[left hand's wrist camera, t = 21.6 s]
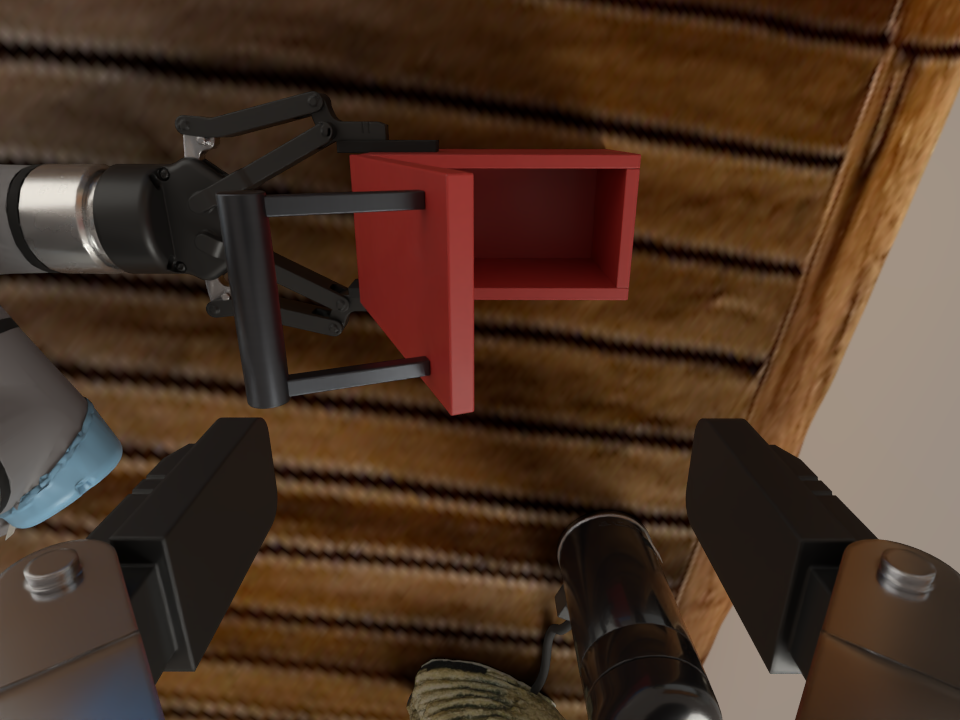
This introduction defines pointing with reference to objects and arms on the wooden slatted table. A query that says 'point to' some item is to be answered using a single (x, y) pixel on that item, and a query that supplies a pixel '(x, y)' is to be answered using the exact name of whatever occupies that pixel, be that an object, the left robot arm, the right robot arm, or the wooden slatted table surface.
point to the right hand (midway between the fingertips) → (439, 220)
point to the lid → (366, 279)
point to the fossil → (474, 694)
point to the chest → (547, 220)
